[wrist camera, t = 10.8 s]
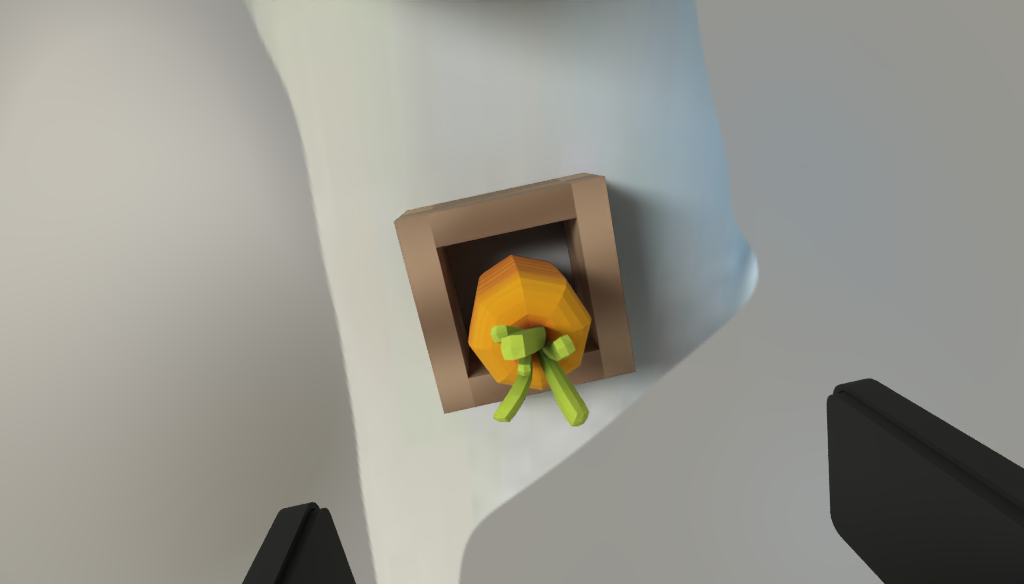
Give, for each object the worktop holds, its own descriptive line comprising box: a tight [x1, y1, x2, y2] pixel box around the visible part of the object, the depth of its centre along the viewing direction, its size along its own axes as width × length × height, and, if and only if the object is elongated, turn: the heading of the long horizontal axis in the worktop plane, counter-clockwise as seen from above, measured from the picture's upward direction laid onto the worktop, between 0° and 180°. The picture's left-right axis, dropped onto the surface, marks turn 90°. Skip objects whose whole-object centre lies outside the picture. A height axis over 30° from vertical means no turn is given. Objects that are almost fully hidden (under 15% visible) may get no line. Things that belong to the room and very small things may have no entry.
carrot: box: [468, 255, 591, 426], centre depth 24 cm, size 5×5×15 cm
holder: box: [394, 173, 635, 414], centre depth 28 cm, size 10×10×5 cm
